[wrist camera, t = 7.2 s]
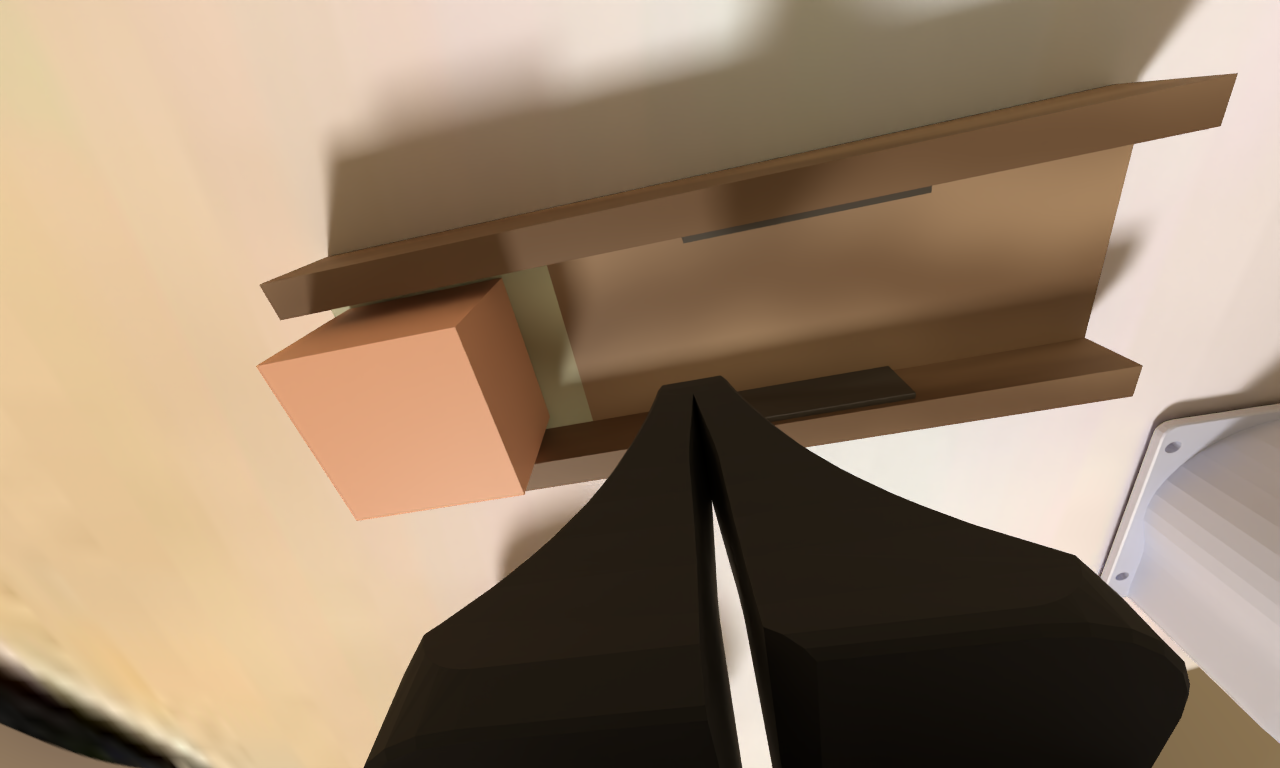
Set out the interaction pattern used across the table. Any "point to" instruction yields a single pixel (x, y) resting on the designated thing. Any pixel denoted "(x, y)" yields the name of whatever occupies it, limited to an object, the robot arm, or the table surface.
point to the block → (417, 400)
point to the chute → (813, 278)
